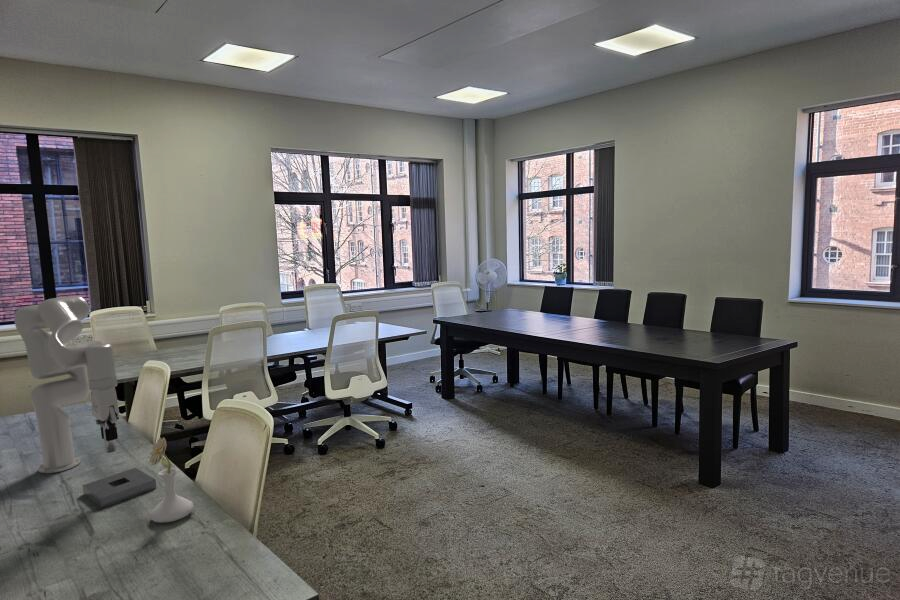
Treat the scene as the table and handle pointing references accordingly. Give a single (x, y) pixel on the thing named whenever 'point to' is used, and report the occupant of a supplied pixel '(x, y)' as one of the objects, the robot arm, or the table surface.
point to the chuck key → (109, 445)
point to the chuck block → (119, 487)
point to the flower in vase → (168, 489)
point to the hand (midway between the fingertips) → (109, 438)
